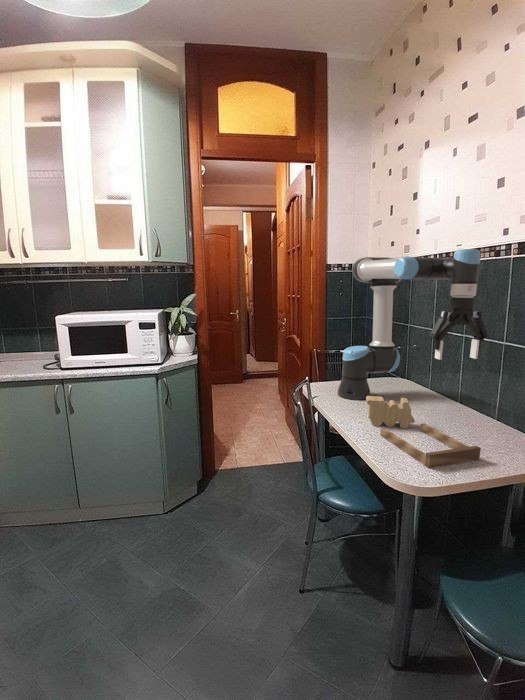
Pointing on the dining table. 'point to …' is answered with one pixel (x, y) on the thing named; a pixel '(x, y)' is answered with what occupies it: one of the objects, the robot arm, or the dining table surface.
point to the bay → (438, 458)
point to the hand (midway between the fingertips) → (455, 358)
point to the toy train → (389, 412)
